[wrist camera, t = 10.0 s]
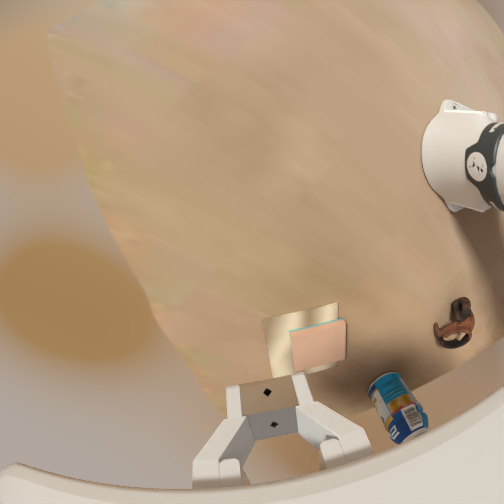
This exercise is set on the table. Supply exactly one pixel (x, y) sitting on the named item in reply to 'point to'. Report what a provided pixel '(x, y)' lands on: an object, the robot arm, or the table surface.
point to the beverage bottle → (397, 407)
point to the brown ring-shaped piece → (457, 325)
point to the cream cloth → (280, 338)
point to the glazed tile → (318, 344)
